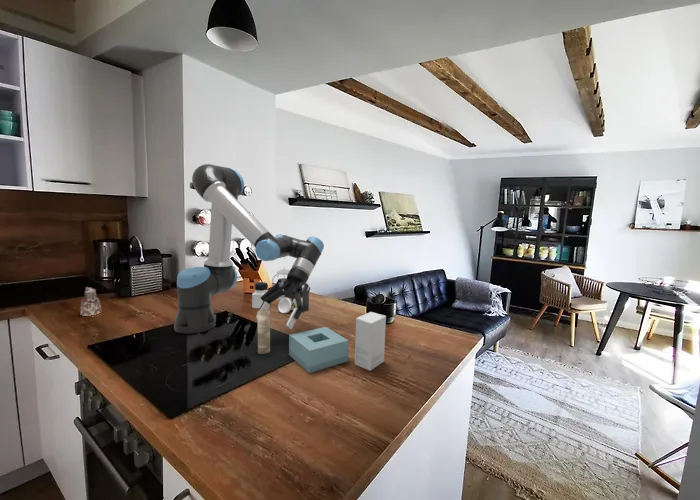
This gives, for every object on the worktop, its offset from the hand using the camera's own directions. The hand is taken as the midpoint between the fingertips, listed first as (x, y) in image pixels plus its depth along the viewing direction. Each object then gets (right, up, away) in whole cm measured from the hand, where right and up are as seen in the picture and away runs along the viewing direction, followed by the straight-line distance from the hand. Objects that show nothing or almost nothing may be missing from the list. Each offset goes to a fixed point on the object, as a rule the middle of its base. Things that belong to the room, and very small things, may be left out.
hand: (273, 323), depth 108 cm
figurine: (-87, -3, +31) cm, 92 cm away
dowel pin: (-3, -9, -1) cm, 10 cm away
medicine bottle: (-18, -3, +49) cm, 52 cm away
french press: (-11, -1, +67) cm, 68 cm away
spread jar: (-1, -4, +43) cm, 43 cm away
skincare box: (+33, -11, -7) cm, 35 cm away
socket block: (+16, -10, -4) cm, 19 cm away
